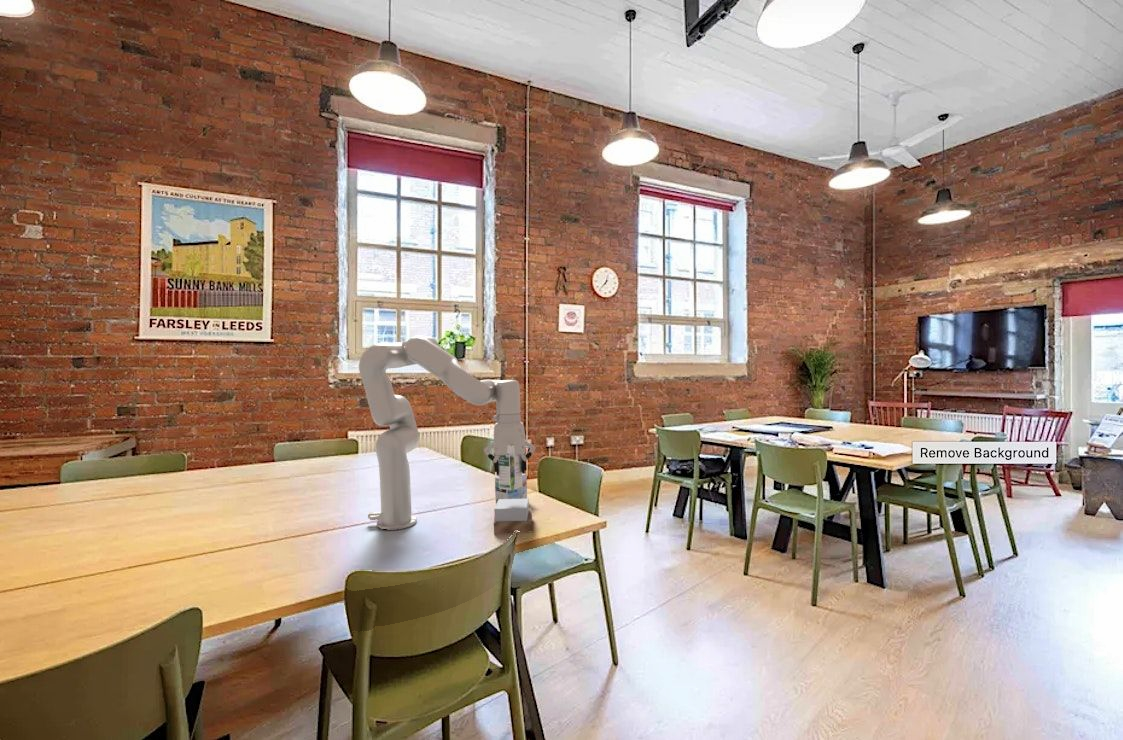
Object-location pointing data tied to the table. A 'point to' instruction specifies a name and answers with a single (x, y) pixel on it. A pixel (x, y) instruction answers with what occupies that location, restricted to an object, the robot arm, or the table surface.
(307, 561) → the table surface
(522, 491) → the light bulb box
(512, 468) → the syrup box
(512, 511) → the grey slab
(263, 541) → the table surface
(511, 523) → the walnut slab
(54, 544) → the table surface
